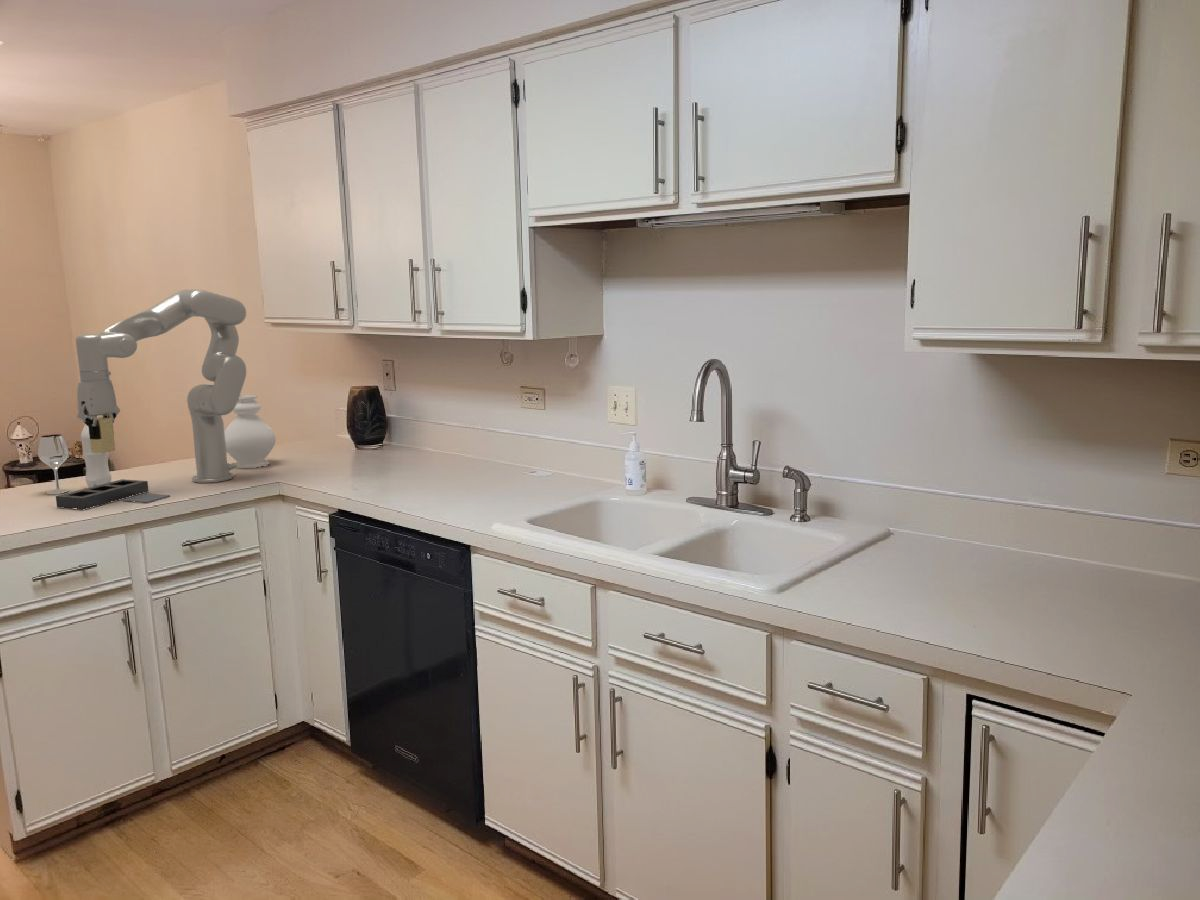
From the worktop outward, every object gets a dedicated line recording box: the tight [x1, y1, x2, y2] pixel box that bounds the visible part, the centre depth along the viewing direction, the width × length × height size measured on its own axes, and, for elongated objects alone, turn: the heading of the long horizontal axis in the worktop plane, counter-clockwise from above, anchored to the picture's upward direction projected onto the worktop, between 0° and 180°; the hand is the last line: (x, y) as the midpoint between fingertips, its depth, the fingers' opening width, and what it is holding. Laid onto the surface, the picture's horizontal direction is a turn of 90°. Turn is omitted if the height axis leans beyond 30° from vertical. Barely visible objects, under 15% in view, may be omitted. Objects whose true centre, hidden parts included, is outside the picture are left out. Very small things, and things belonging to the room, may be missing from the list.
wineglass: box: [37, 433, 70, 495], centre depth 277 cm, size 8×8×18 cm
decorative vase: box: [224, 394, 276, 469], centre depth 317 cm, size 18×18×25 cm
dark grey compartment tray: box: [55, 479, 149, 510], centre depth 268 cm, size 24×10×4 cm, turn 163°
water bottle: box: [80, 415, 112, 488], centre depth 283 cm, size 7×7×25 cm
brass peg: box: [90, 416, 116, 453], centre depth 265 cm, size 4×4×10 cm
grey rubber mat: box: [122, 492, 171, 504], centre depth 268 cm, size 9×9×1 cm
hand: (102, 437), depth 265 cm, fingers closed on brass peg, 4 cm apart
